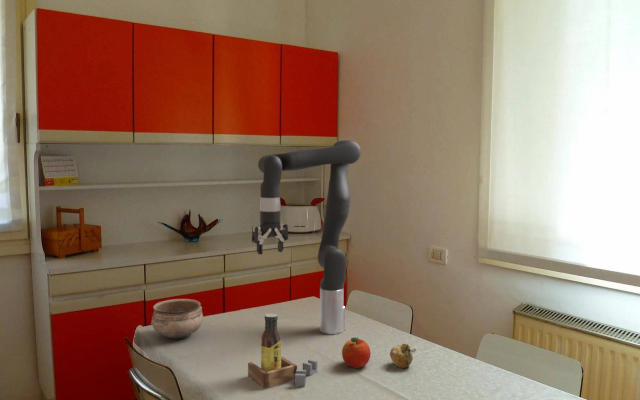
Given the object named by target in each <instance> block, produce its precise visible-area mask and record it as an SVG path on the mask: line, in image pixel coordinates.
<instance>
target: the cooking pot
mask: <svg viewBox="0 0 640 400" xmlns="http://www.w3.org/2000/svg"><path fill="white" fill-rule="evenodd" d="M201 305H202V303H201V302H200V301H199V300H196V299H192V298H191V299H190V298H175V299H167V300H163V301H159V302H157V303H155V304H154V305H153V307H152V308H153V310H154V311H153V313H152V317H151V323H150V325H152V327H153V329H154V331H156V333H158V334H159V335H161V336H163V337H165V338H169V339H170V340H175V341H176V340H183V339H186V338H188V337H189V336H191V335H192V334H193V333H196V332H197V331H198V330H199V329H200V328H201V326H202V324H203V321H204V315H203V307H202V306H201Z"/></svg>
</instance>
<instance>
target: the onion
mask: <svg viewBox="0 0 640 400" xmlns="http://www.w3.org/2000/svg"><path fill="white" fill-rule="evenodd" d="M416 351H417V349H416V348H415V347H412V346H411V345H409V344H408V343H402V344H398V345H396V346H393V347H392V348H391V349H390V353H389V357H390V359H391V361H392V363H394V365H395V366H396V367H398V368H402V369H404V368H408V367H409V366H410V365H411V363H412V361H413V358H414V357H413V353H416Z"/></svg>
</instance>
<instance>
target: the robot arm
mask: <svg viewBox="0 0 640 400" xmlns="http://www.w3.org/2000/svg"><path fill="white" fill-rule="evenodd" d="M361 151H362V150H361V147H360V145H359V144H358V143H357V142H356V141H353V140H347V139H346V140H345V139H344V140H338V141H336V142H335V143H334V144H333V145H332V146H330V147H322V148H321V147H320V148H312V149H301V150H294V151H289V152H284V153H275V154H274V153H273V154H267V155H263V156H261V157H260V158H259V159H258V162H257V167H258V169H259V171H260V172H261V173H263V181H262V182H261V183H260V197H259V198H260V200H259V222H260V224H259V226H254V225H253V226H252V228H251V243H253V244H256V252H257V253H256V254H258V255H259V256H261V255H263V251H264V250H263V243H264V241H265V240H266V239H267V238H271V237H273V238H276V239H277V252H278V253H282V252H283V251H284V242H285V241H288V240H289V230H288V229H289V227H288V226H289V225H288V224H286V223H281V198H280V197H281V194H280V193H281V192H280V191H281V190H280V186H281V185H280V184H281V180H282V174H283V172H285V171H287V172H288V171H289V172H293V171H297V170H299V171H300V170H303V169H309V168H315V167H319V166H325V165H330V170H329V171H330V172H329V182H328V188H327V189H328V190H327V195H326V203H325V211H324V219H323V228H322V235H321V240H320V243H319V244H320V245H319V247H318V251H317V262H318V265H319V266H320V267H321V268H322V269H323V278H322V279H321V280H320V282H319V332H321V333H323V334H328V335H336V334H340V333H342V332H344V331H346V306H345V305H344V288H345V287H344V285H345V283H346V277H347V276H346V275H347V257H346V255H345V253H344V251H342V250H341V249H339V242H340V236H341V232H342V231H343V228H344V226H345V225H346V222H347V219H348V218H349V213H350V205H351V194H350V187H349V183H348V171H349V166H350V165H352V164H354V163H356V162H357V161H359V159H360V158H361V154H362V152H361ZM280 231H281V232H280ZM259 233H260V234H259Z"/></svg>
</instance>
